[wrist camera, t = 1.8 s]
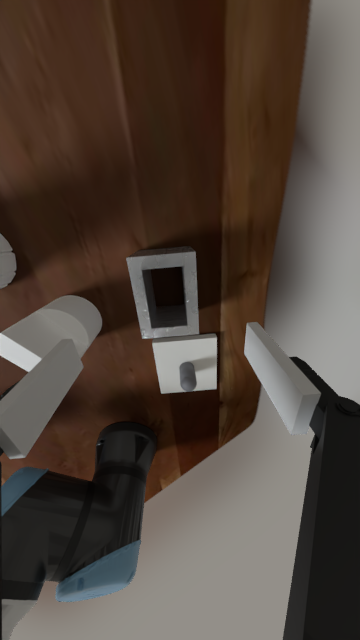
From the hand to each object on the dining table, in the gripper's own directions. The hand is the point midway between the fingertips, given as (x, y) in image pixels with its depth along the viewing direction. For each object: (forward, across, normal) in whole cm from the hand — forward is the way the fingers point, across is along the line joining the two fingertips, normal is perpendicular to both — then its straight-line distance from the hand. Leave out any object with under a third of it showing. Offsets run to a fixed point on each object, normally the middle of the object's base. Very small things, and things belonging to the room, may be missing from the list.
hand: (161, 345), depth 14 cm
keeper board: (+18, -2, +17) cm, 25 cm away
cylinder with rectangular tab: (+19, +17, +5) cm, 26 cm away
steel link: (+18, 0, 0) cm, 19 cm away
